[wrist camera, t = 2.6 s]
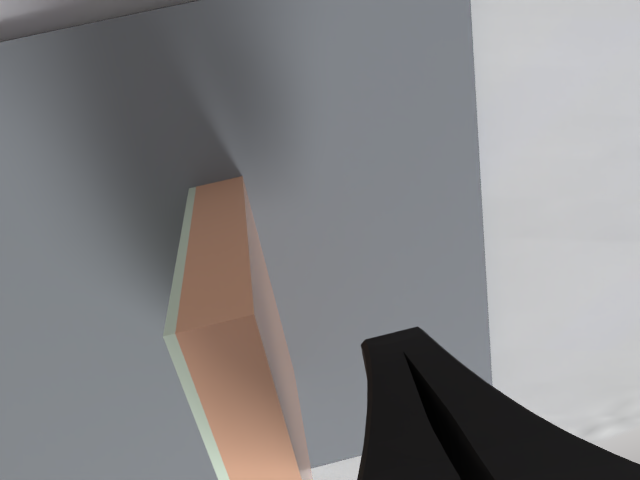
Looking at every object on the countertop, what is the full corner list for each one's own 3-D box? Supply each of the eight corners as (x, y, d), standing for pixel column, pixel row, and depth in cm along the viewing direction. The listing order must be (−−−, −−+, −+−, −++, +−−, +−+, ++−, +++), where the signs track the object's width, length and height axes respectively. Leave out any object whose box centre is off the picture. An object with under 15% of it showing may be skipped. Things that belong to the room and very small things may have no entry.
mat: (460, -55, 14) (467, -56, 14) (489, 413, 21) (494, 420, 21) (-277, 99, 13) (-290, 103, 13) (15, 536, 20) (12, 545, 20)
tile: (242, 176, 15) (254, 314, 9) (294, 371, 18) (329, 575, 12) (189, 188, 15) (163, 336, 9) (249, 383, 18) (262, 594, 12)
